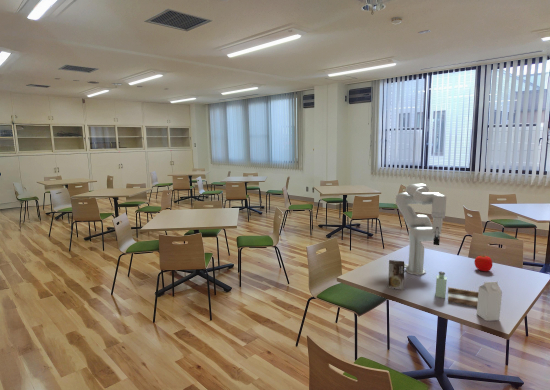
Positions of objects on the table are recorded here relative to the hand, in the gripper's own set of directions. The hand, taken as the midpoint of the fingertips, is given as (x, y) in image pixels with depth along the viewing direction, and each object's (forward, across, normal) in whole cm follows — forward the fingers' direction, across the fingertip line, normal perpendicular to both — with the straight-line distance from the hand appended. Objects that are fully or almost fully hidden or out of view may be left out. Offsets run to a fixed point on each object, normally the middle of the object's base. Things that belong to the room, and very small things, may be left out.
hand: (436, 243), depth 204 cm
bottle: (+28, +13, +4) cm, 31 cm away
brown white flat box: (+28, +13, +18) cm, 36 cm away
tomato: (+28, -43, +30) cm, 59 cm away
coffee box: (+28, +12, -21) cm, 37 cm away
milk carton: (+28, +30, +26) cm, 48 cm away
